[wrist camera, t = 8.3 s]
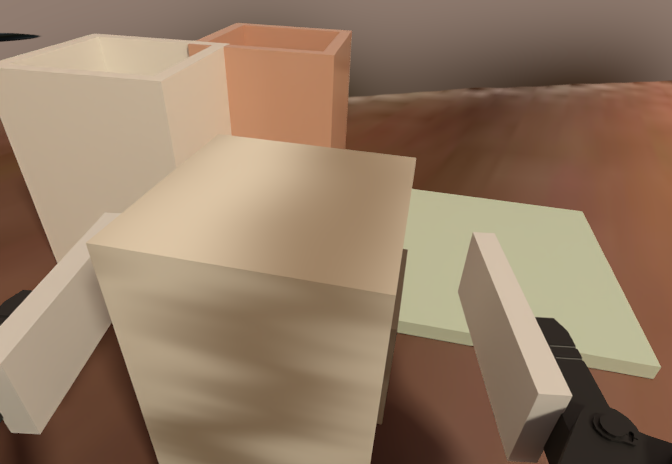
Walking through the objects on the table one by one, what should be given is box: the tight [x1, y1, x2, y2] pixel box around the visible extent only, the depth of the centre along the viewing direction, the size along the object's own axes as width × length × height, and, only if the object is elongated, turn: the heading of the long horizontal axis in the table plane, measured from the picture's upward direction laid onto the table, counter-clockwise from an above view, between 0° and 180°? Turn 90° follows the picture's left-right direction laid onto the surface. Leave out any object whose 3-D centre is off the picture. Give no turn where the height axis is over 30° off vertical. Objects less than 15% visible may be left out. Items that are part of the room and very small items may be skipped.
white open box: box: [0, 34, 232, 263], centre depth 25 cm, size 8×8×11 cm
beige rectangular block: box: [86, 134, 416, 464], centre depth 14 cm, size 6×6×11 cm
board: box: [397, 189, 661, 379], centre depth 27 cm, size 14×14×1 cm
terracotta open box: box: [188, 23, 352, 149], centre depth 30 cm, size 8×8×11 cm
